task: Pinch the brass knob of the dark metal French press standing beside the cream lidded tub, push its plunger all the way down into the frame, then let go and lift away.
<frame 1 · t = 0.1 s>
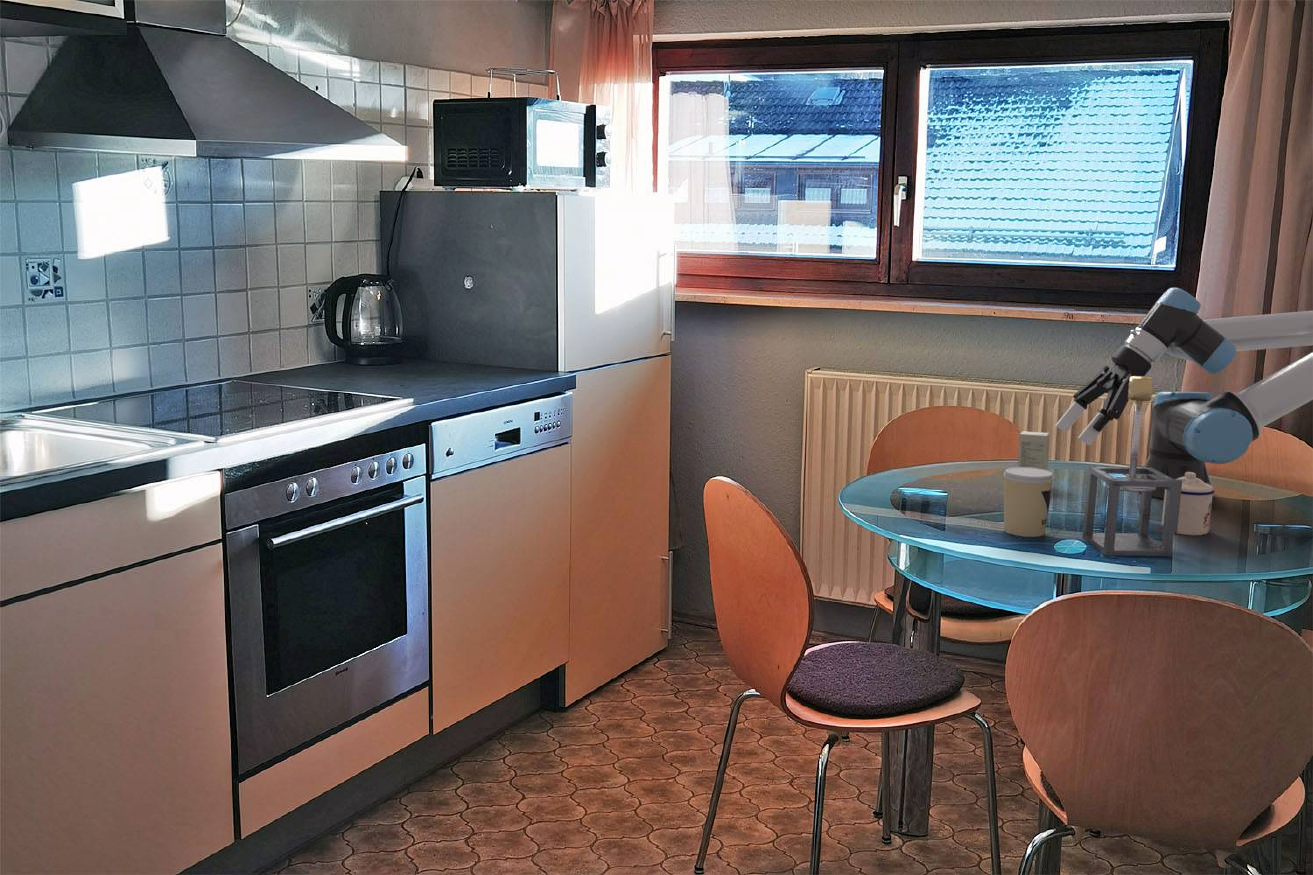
hand: (1071, 435, 252), 15 cm above the table, tool tilted 35°, fingers open, 13 cm apart
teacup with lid: (1183, 529, 238), on the table
plunger: (1136, 432, 220), point 22 cm above the table, slide at 0.0 cm
skincare box: (1031, 486, 274), on the table
press frame: (1125, 546, 224), on the table
cream lidded tub: (1024, 532, 234), on the table
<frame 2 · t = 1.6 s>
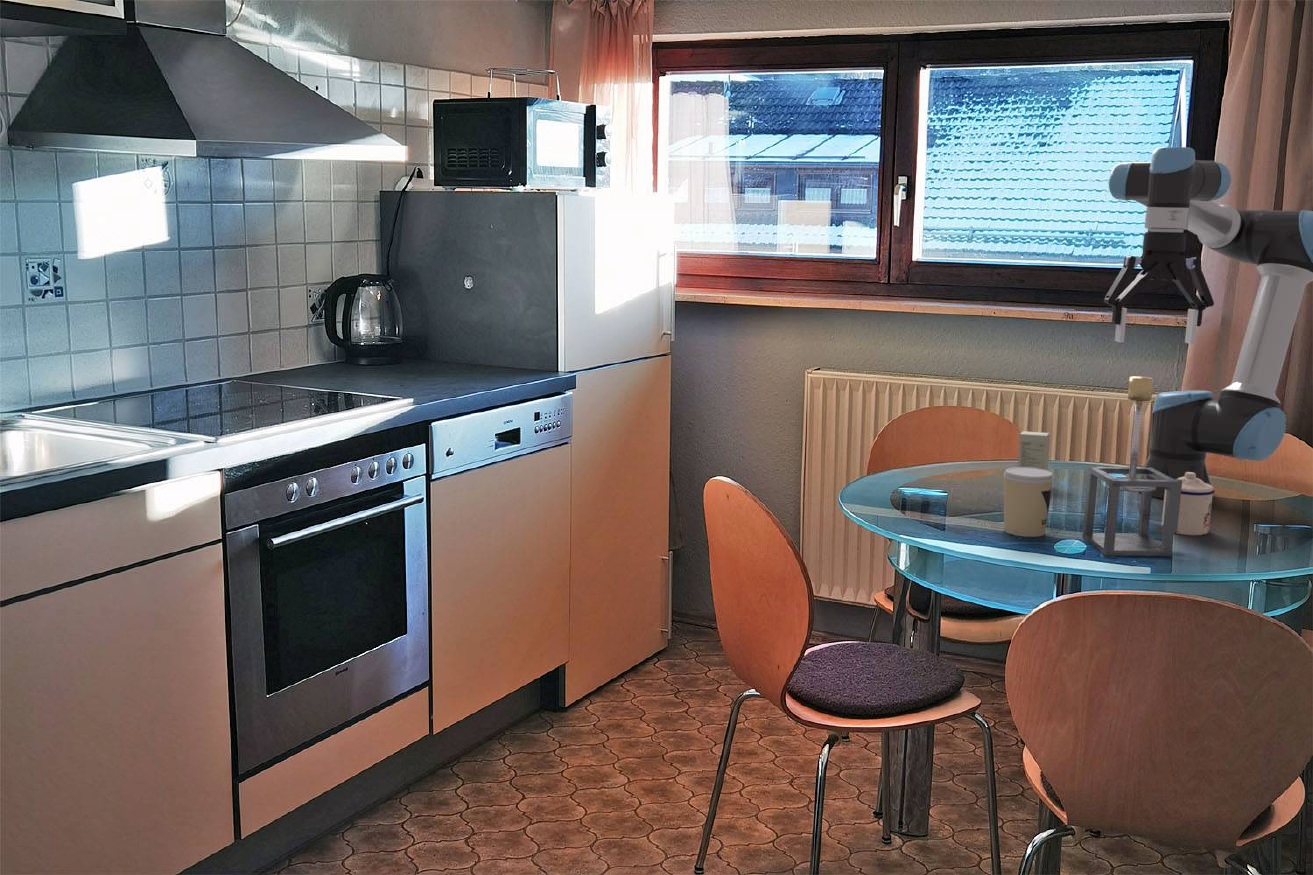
hand: (1154, 342, 231), 37 cm above the table, tool pointing down, fingers open, 13 cm apart
nothing on the table moved.
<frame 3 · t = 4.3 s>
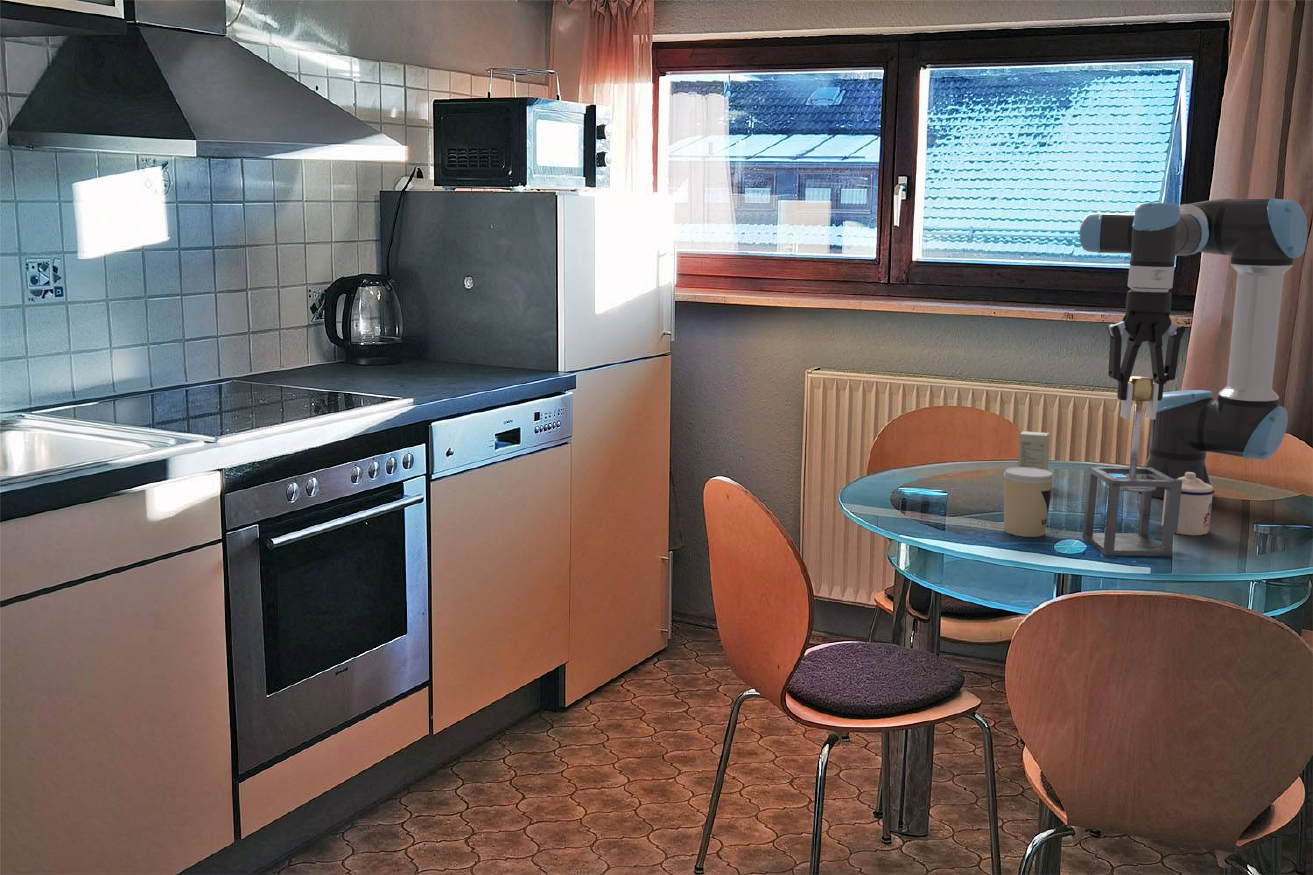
hand: (1137, 417, 220), 25 cm above the table, tool pointing down, fingers closed on plunger, 4 cm apart
plunger: (1136, 432, 220), point 22 cm above the table, slide at 0.0 cm, touching gripper
everything else where it was.
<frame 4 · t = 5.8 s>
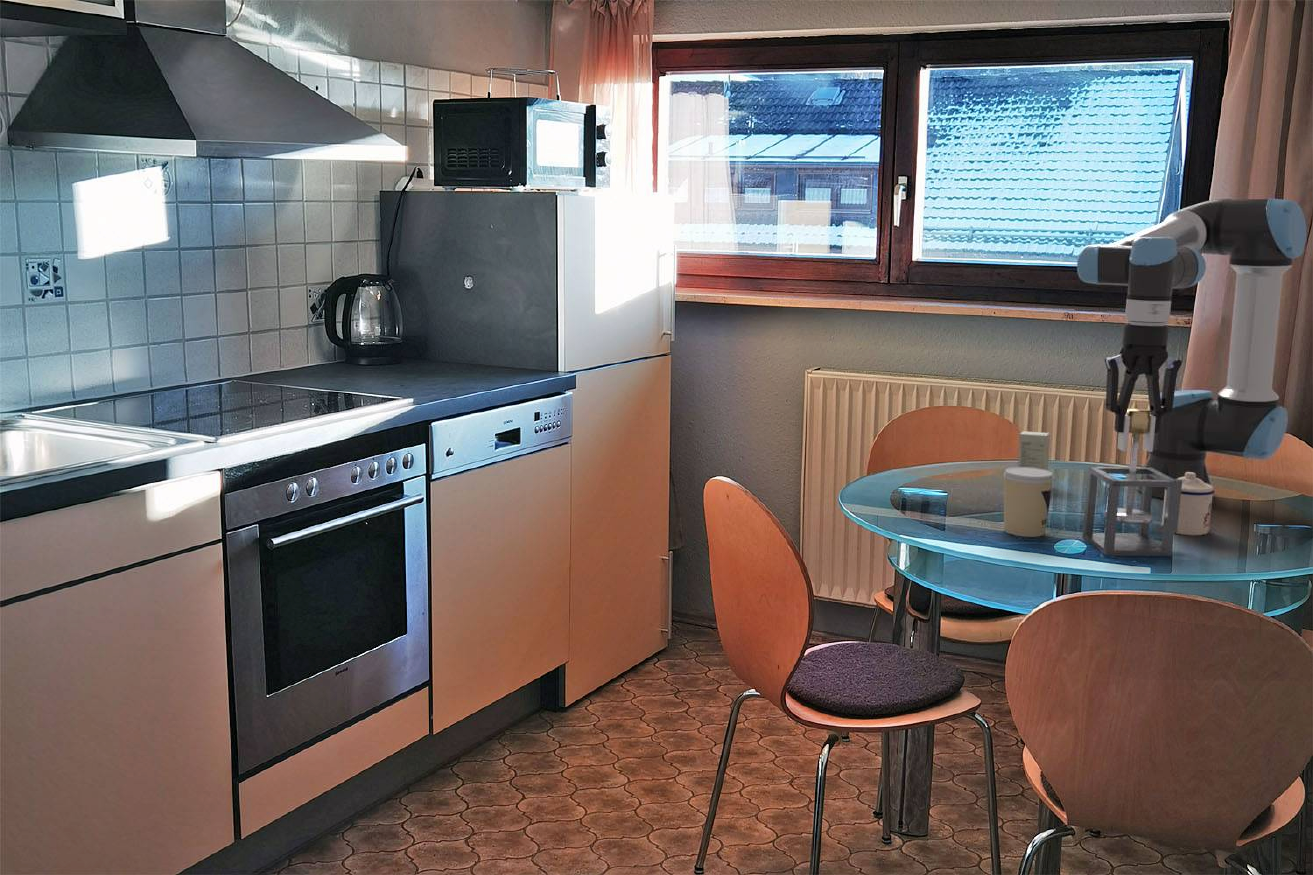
hand: (1134, 449, 221), 19 cm above the table, tool pointing down, fingers closed on plunger, 4 cm apart
plunger: (1133, 464, 221), point 16 cm above the table, slide at 6.0 cm, touching gripper
everything else where it was.
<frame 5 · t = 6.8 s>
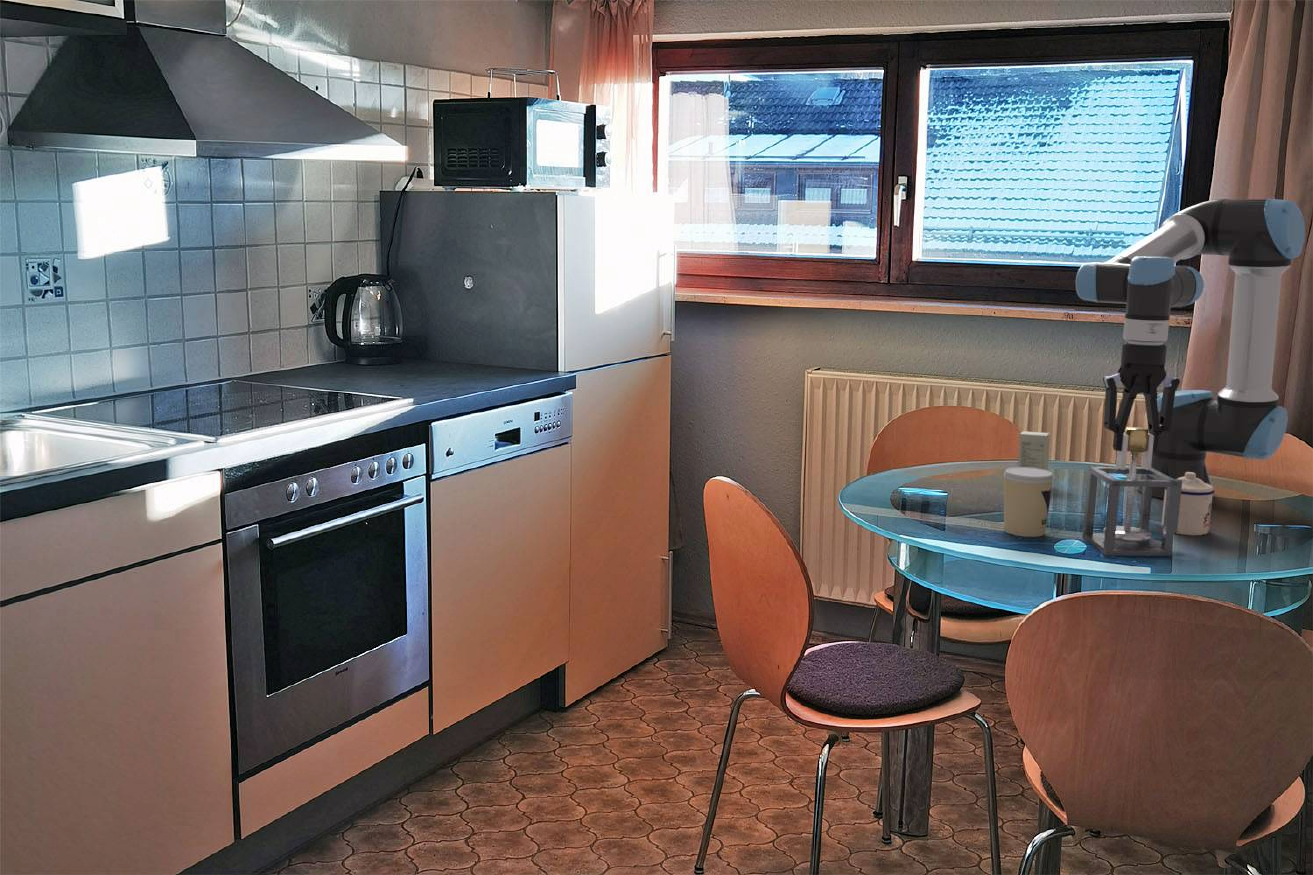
hand: (1133, 467, 222), 15 cm above the table, tool pointing down, fingers closed on plunger, 4 cm apart
plunger: (1131, 482, 222), point 12 cm above the table, slide at 9.5 cm, touching gripper
everything else where it was.
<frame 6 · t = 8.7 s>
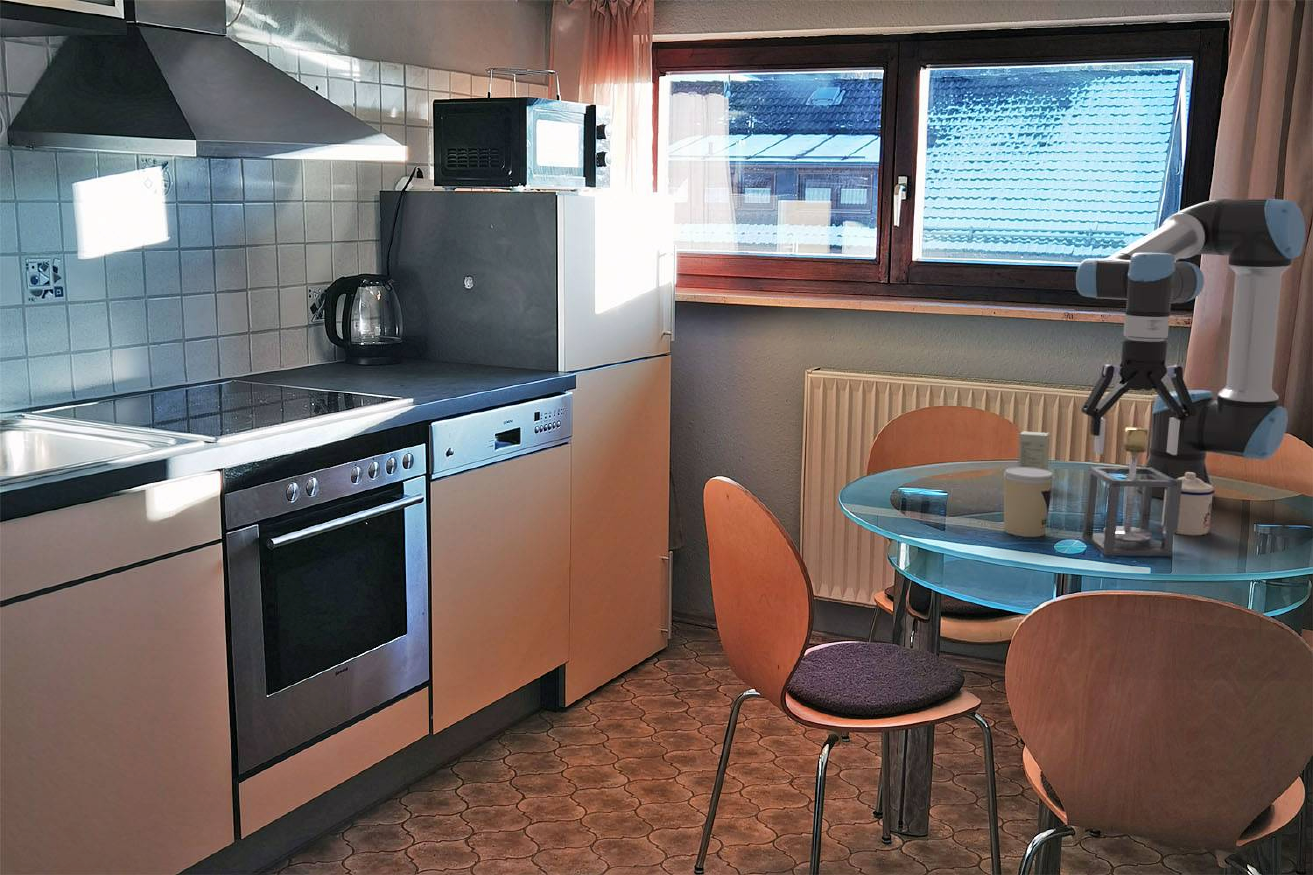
hand: (1134, 453, 221), 18 cm above the table, tool pointing down, fingers open, 13 cm apart
plunger: (1131, 482, 222), point 12 cm above the table, slide at 9.5 cm
everything else where it was.
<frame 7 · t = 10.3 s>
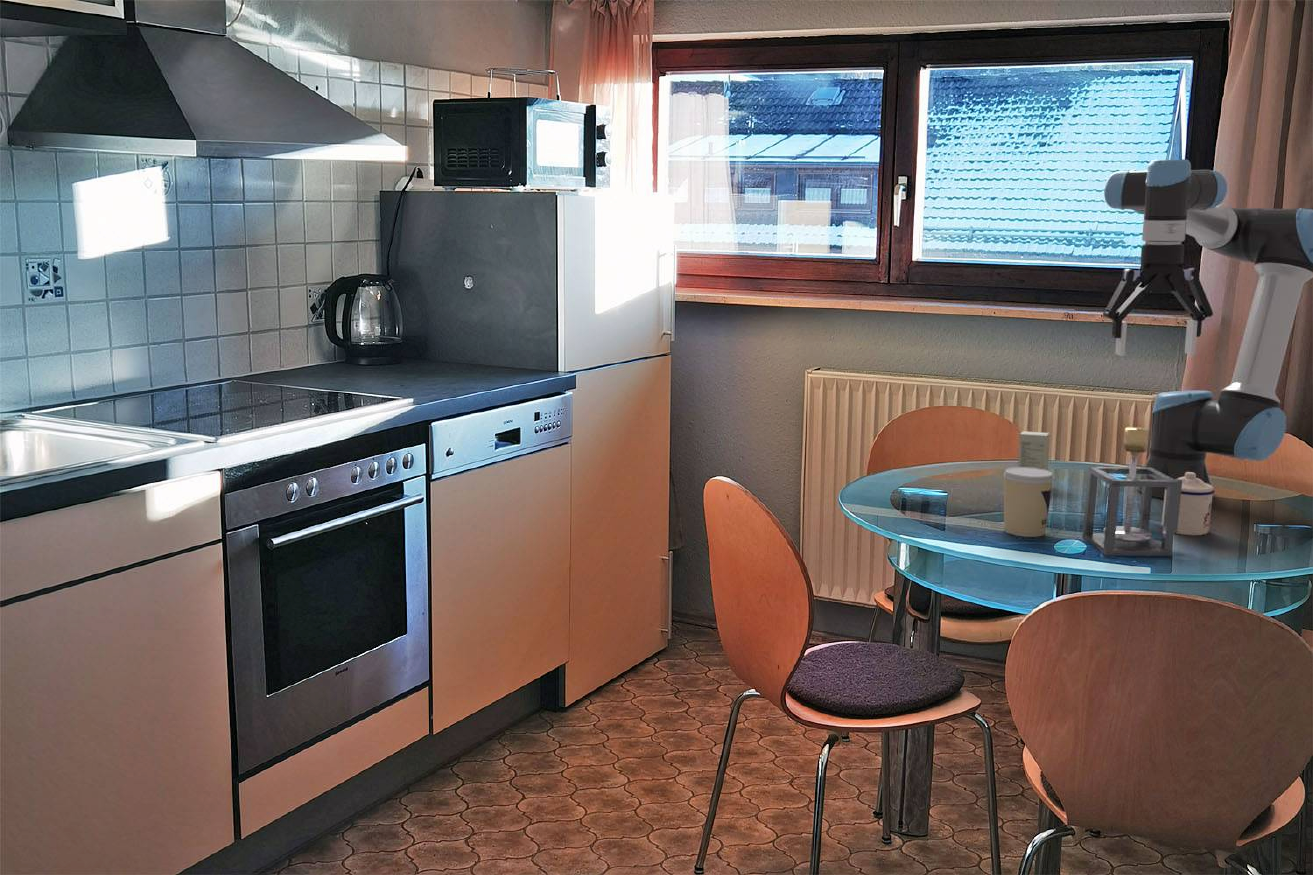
hand: (1154, 354, 231), 35 cm above the table, tool pointing down, fingers open, 13 cm apart
nothing on the table moved.
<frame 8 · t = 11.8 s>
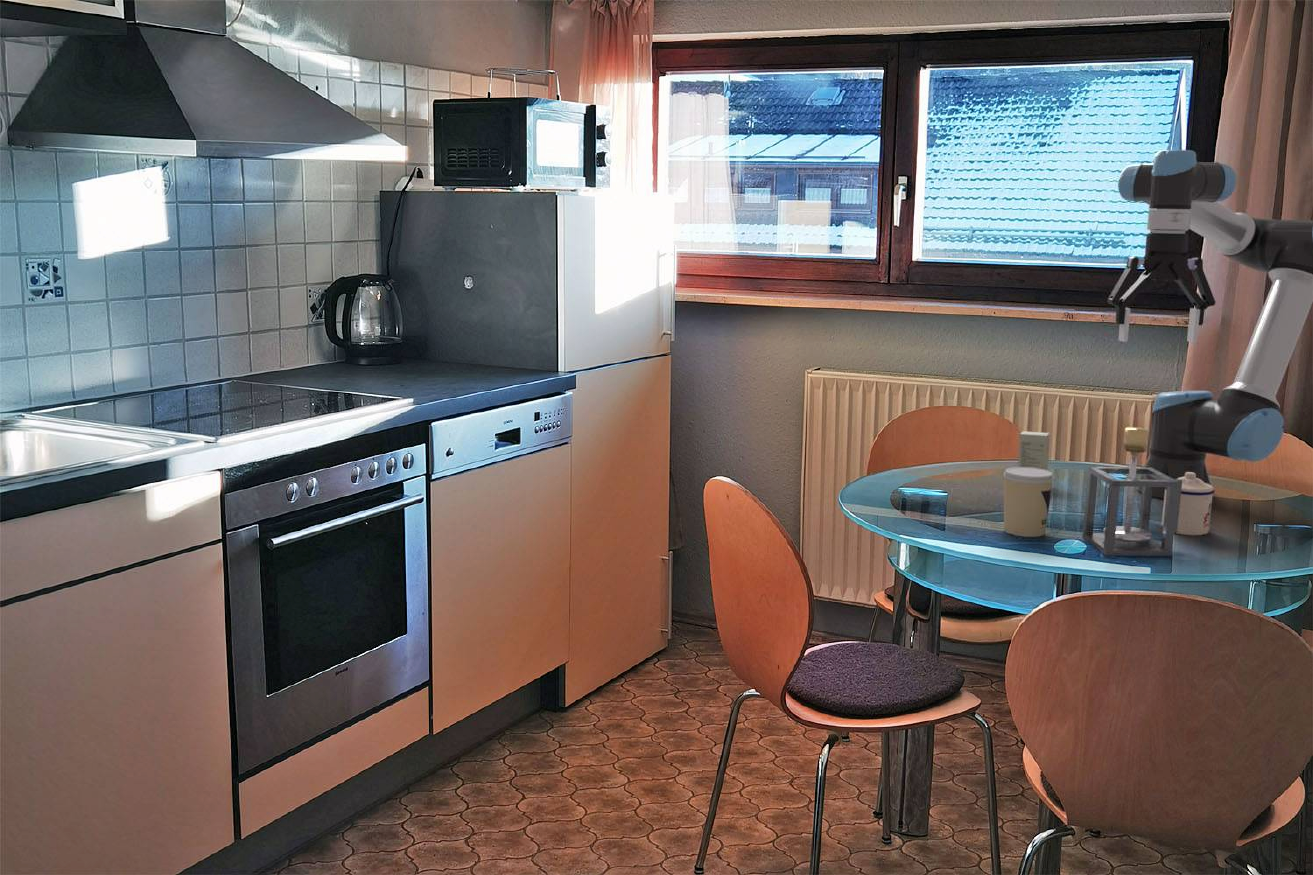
hand: (1157, 341, 235), 37 cm above the table, tool pointing down, fingers open, 13 cm apart
nothing on the table moved.
at the end: plunger slide at 9.5 cm; the gripper is holding nothing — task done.
